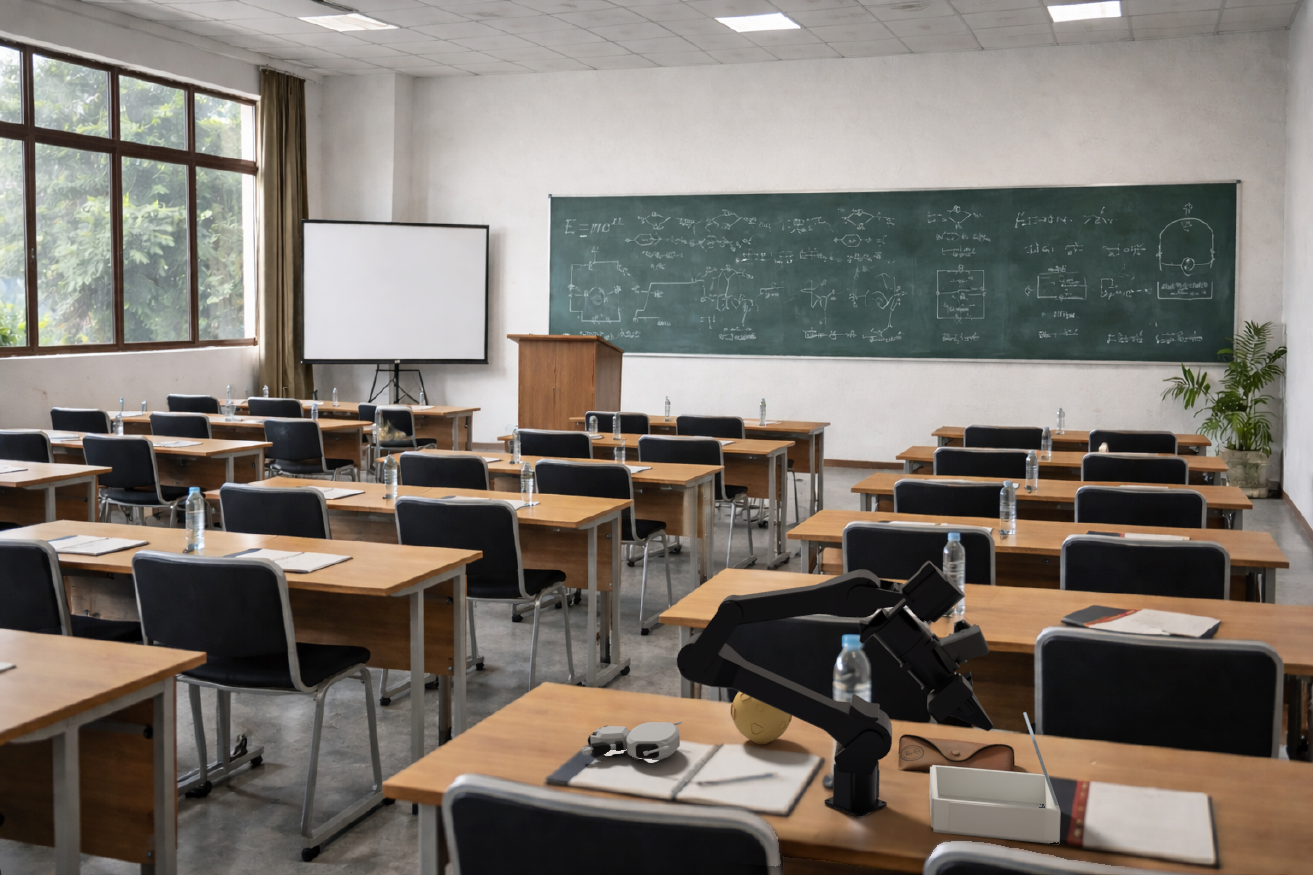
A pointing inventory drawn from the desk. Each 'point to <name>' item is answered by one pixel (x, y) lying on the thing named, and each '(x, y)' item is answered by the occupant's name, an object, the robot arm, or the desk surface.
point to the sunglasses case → (952, 754)
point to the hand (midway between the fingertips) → (990, 728)
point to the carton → (993, 804)
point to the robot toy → (636, 740)
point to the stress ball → (758, 719)
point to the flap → (1040, 759)
